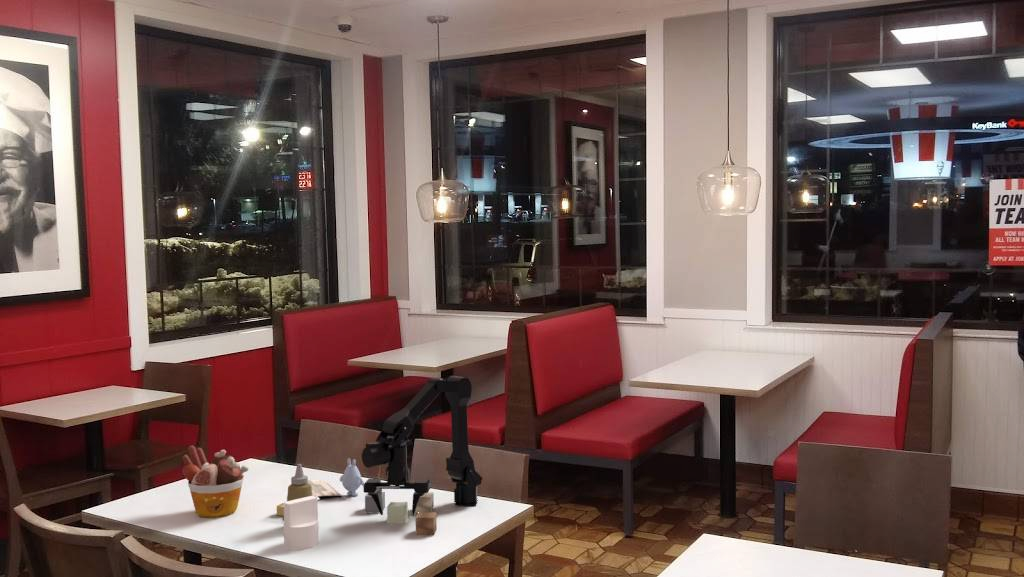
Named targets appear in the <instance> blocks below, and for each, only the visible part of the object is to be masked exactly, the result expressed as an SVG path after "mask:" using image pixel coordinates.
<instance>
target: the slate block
mask: <svg viewBox="0 0 1024 577" xmlns="http://www.w3.org/2000/svg"><path fill="white" fill-rule="evenodd" d="M382 503H383V511H384V510H385V509H386V493H385V491H382ZM384 508H385V509H384ZM364 511H365V512H371V514H373V513H374V514H375V512H379V510H378V507H377V505H376V503H375V501H374V500H373V498H372V496H369V495H368V493H367V494H366V493H365V496H364ZM365 512H364V513H365ZM372 512H373V513H372Z"/></svg>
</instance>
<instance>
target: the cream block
mask: <svg viewBox="0 0 1024 577" xmlns="http://www.w3.org/2000/svg"><path fill="white" fill-rule="evenodd" d="M434 495H435V494H434V492H433V491H430V492H428V493H425V494H424V495H423V496H420V498H419V501H418V504H417V507H416V511H415V512H433V511H432V509H433V507H434V508H435V506H434V505H435V503H434V502H435V501H434V500H435V498H434ZM433 510H434V509H433Z"/></svg>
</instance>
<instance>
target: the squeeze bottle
mask: <svg viewBox="0 0 1024 577" xmlns="http://www.w3.org/2000/svg"><path fill="white" fill-rule="evenodd" d="M308 478H309V477H308V475H305V474H304V469H303V467H302V463H297V464H296V468H295V474H294V475H293V476H291V478H290V480H291V481H290V482H291V484H289V485H288V487H287V496H286V502H287V501H291V500H295V499H300V498H304V497H309V496H312V488H311V485H310V484H309V483H308V481H309V479H308Z"/></svg>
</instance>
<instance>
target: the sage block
mask: <svg viewBox="0 0 1024 577" xmlns="http://www.w3.org/2000/svg"><path fill="white" fill-rule="evenodd" d="M408 511H409V510H408V502H406V501H405V502H404V501H400V502H399V501H391V502H389V504H388V505H387V507H386V515H387V516H386V519H387V520H386V523H387V525H406V523H407V521H408V519H409V516H408V515H409V513H408Z"/></svg>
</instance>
